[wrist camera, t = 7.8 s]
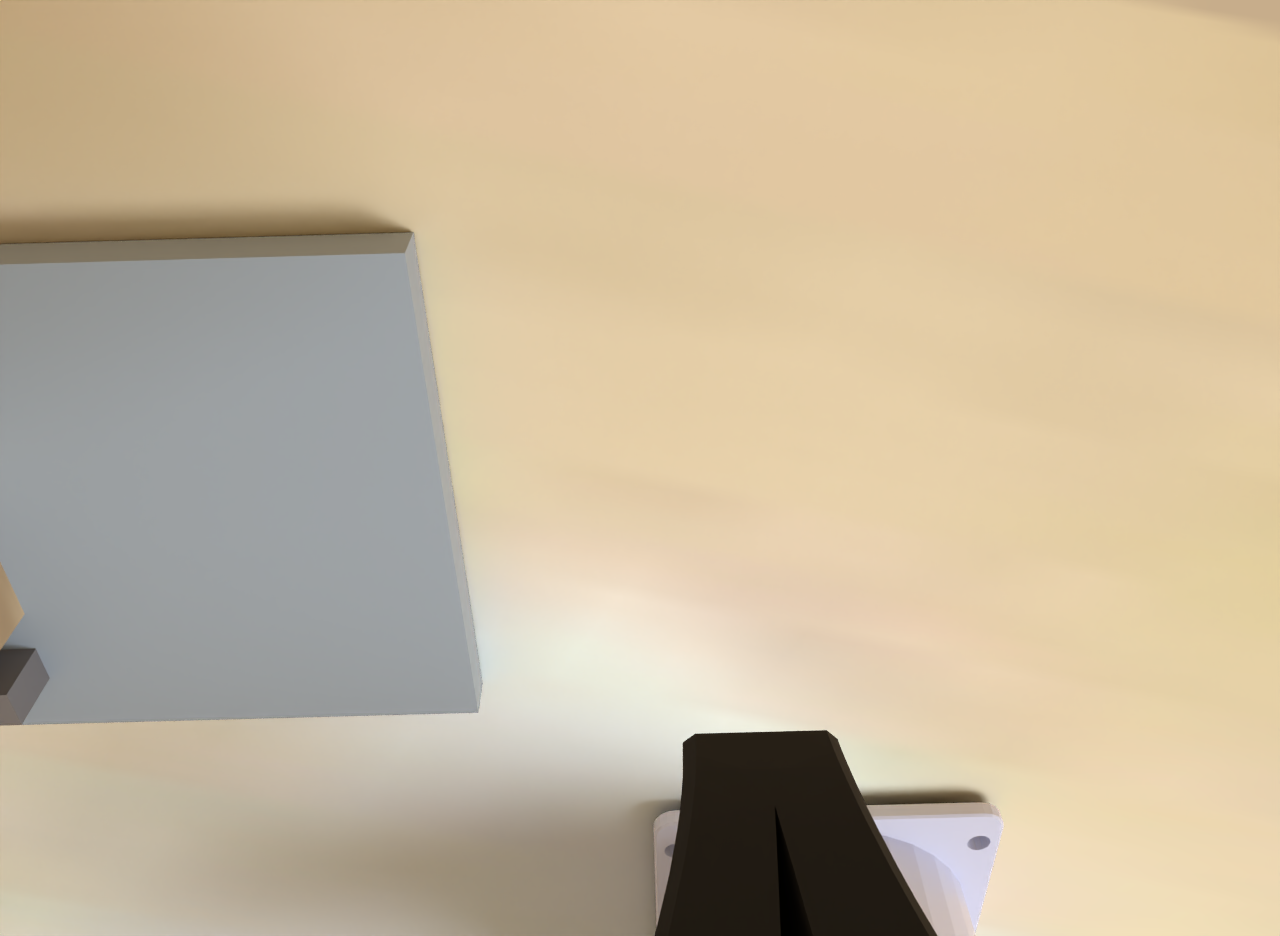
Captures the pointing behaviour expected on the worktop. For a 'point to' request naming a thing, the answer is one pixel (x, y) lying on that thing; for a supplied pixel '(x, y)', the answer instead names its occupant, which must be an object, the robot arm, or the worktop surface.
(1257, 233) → the worktop surface
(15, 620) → the maple block
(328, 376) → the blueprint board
